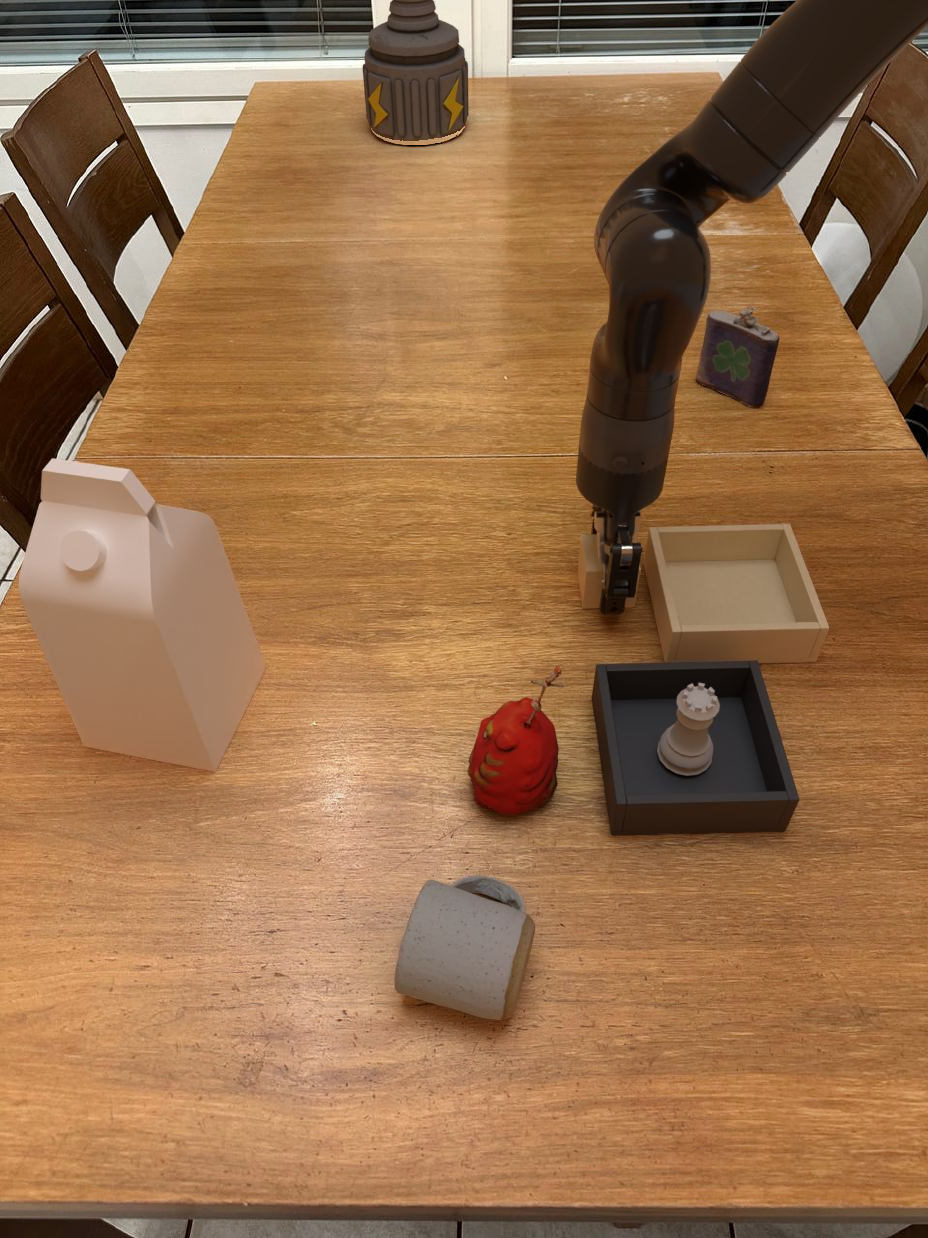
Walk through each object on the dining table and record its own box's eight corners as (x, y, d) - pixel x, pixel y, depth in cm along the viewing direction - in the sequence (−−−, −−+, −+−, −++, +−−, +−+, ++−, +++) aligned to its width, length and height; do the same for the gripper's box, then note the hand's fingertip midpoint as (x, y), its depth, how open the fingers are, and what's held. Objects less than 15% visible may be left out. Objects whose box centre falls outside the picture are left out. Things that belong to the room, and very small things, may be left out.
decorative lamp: (491, 126, 173) (492, -74, 151) (417, 157, 163) (407, -51, 141) (418, 101, 182) (409, -91, 160) (345, 130, 172) (324, -70, 150)
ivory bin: (779, 558, 94) (790, 523, 91) (816, 662, 85) (829, 628, 82) (642, 561, 94) (648, 526, 91) (665, 666, 85) (672, 631, 82)
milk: (266, 667, 86) (203, 430, 66) (215, 772, 78) (128, 538, 59) (144, 646, 88) (49, 410, 68) (83, 746, 80) (-42, 512, 61)
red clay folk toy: (491, 736, 80) (492, 615, 69) (570, 762, 78) (584, 642, 67) (456, 809, 75) (451, 691, 64) (539, 838, 73) (549, 722, 62)
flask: (691, 381, 116) (706, 299, 108) (705, 371, 117) (721, 290, 109) (756, 411, 111) (778, 328, 103) (770, 401, 113) (792, 318, 105)
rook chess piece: (666, 726, 80) (680, 665, 74) (718, 745, 78) (737, 684, 72) (649, 766, 77) (662, 706, 71) (702, 787, 76) (720, 727, 70)
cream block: (627, 570, 93) (633, 533, 90) (634, 607, 90) (641, 569, 86) (577, 572, 93) (580, 534, 90) (582, 608, 90) (586, 571, 86)
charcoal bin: (746, 694, 83) (757, 659, 79) (785, 831, 73) (800, 799, 70) (591, 697, 83) (595, 663, 79) (610, 835, 73) (616, 804, 70)
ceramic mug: (511, 1044, 63) (515, 997, 57) (395, 1010, 64) (387, 961, 59) (546, 901, 70) (552, 847, 64) (440, 874, 72) (437, 819, 66)
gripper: (684, 496, 74) (656, 635, 86) (656, 392, 84) (634, 530, 96) (588, 498, 74) (573, 637, 86) (571, 394, 84) (560, 531, 96)
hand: (605, 580), depth 91 cm, fingers open, 8 cm apart
